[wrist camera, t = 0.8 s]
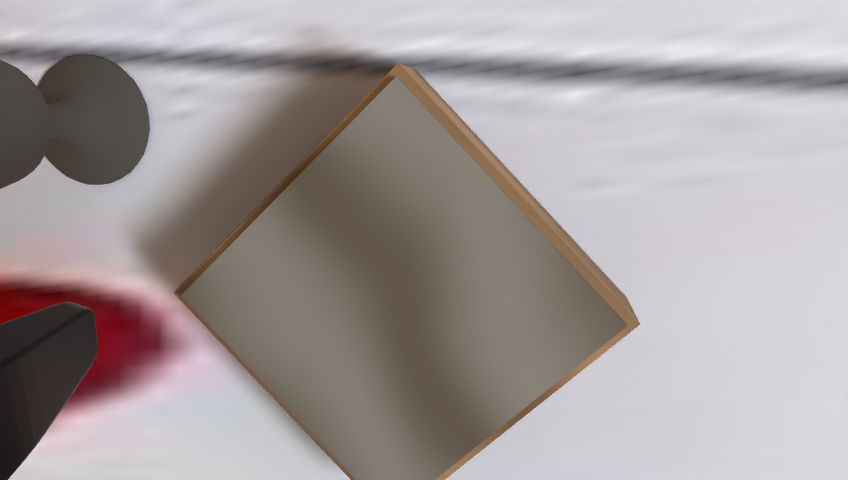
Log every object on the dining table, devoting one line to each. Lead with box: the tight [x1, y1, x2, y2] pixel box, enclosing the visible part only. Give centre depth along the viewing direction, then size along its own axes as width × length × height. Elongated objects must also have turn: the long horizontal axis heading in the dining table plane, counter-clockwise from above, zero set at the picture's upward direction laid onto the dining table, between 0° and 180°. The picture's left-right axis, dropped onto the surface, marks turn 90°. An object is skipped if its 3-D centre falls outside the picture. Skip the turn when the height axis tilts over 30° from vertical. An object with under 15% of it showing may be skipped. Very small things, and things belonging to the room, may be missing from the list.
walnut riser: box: [174, 63, 640, 480], centre depth 23 cm, size 11×11×4 cm
